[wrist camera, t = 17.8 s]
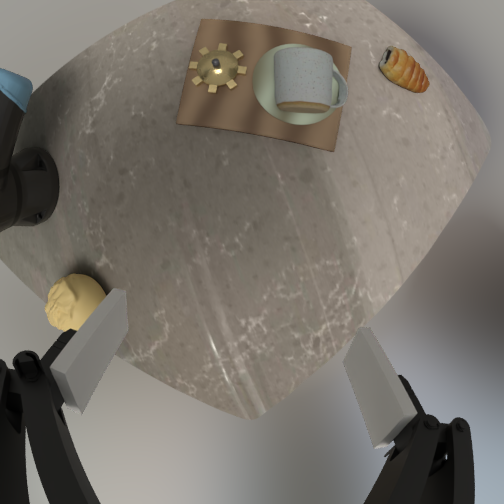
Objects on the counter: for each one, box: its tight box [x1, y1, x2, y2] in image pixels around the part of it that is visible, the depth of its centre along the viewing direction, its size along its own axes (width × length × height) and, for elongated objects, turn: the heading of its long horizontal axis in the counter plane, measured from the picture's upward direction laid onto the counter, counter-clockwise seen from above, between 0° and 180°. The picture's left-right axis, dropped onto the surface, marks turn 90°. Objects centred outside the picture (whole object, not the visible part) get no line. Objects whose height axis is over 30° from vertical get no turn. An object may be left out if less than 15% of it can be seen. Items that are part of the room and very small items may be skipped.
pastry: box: [379, 46, 429, 93], centre depth 31 cm, size 9×7×4 cm
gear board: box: [176, 19, 351, 152], centre depth 33 cm, size 23×18×2 cm
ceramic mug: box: [274, 47, 348, 113], centre depth 29 cm, size 11×8×8 cm
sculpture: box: [45, 273, 106, 332], centre depth 41 cm, size 12×12×11 cm
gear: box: [189, 43, 247, 94], centre depth 30 cm, size 8×8×4 cm
